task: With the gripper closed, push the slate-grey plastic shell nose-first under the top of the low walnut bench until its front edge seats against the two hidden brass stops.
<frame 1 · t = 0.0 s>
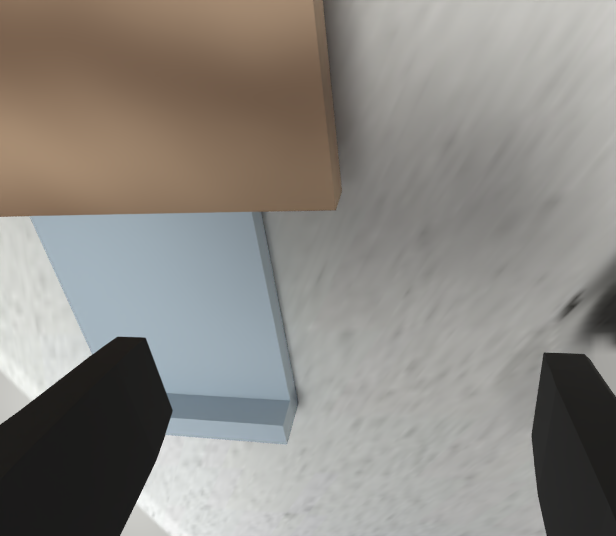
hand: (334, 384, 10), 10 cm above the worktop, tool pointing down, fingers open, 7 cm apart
shell: (182, 305, 24), on the worktop
bench: (93, 40, 18), on the worktop
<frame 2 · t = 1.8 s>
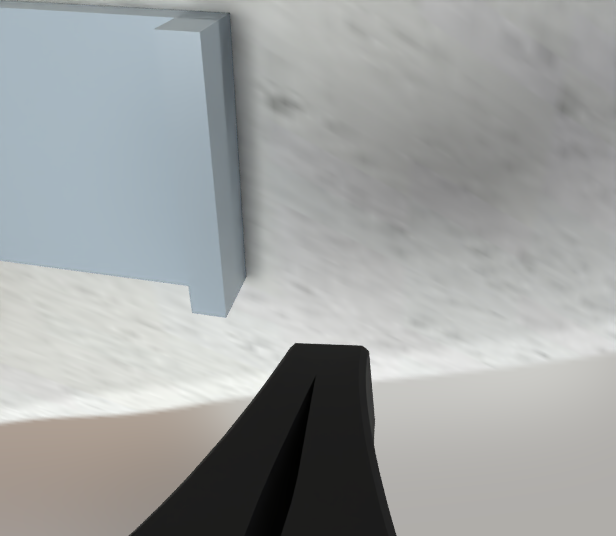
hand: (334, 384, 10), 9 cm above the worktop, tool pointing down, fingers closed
shell: (85, 145, 19), on the worktop
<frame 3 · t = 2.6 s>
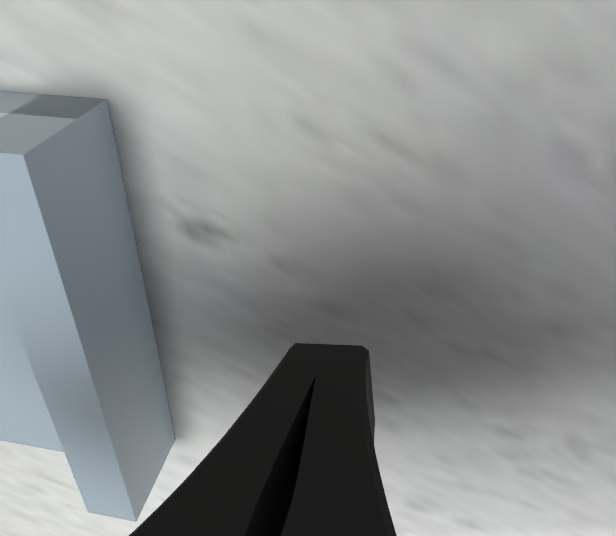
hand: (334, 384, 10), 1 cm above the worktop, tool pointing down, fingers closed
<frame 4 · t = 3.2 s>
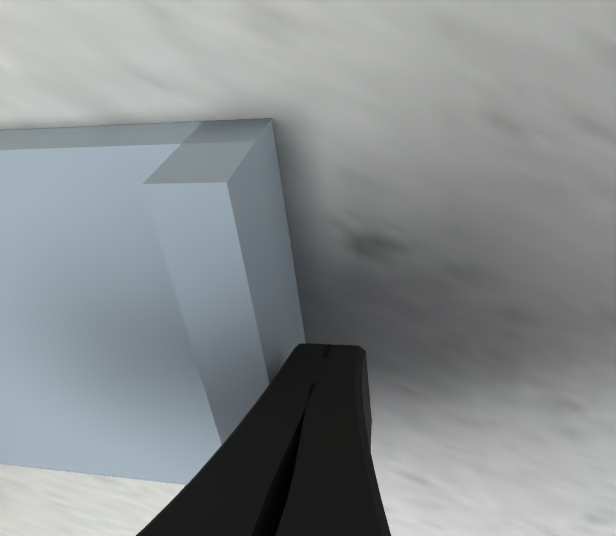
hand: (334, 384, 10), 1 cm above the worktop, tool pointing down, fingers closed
shell: (76, 312, 13), on the worktop, touching gripper
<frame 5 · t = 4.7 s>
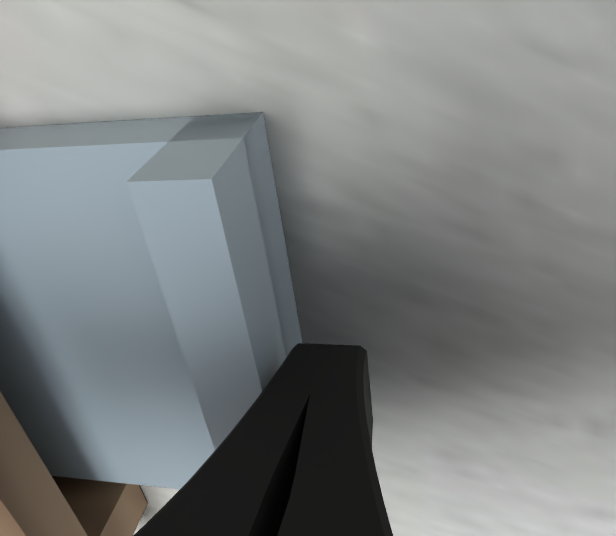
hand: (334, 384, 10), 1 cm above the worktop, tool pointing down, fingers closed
shell: (68, 315, 13), on the worktop
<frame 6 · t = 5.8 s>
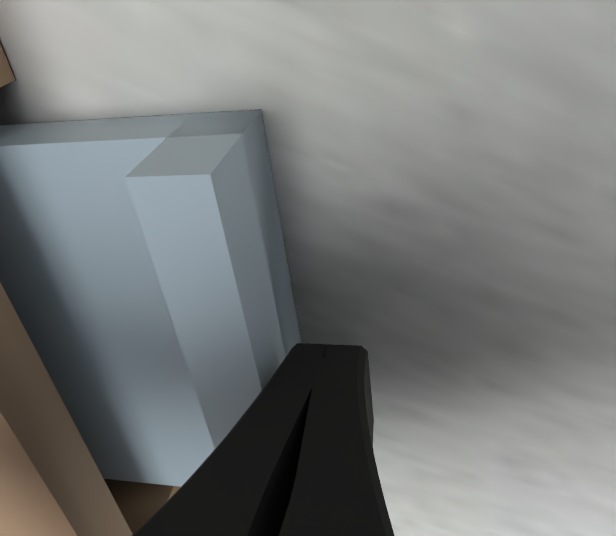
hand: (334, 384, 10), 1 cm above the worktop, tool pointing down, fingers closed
shell: (68, 313, 13), on the worktop
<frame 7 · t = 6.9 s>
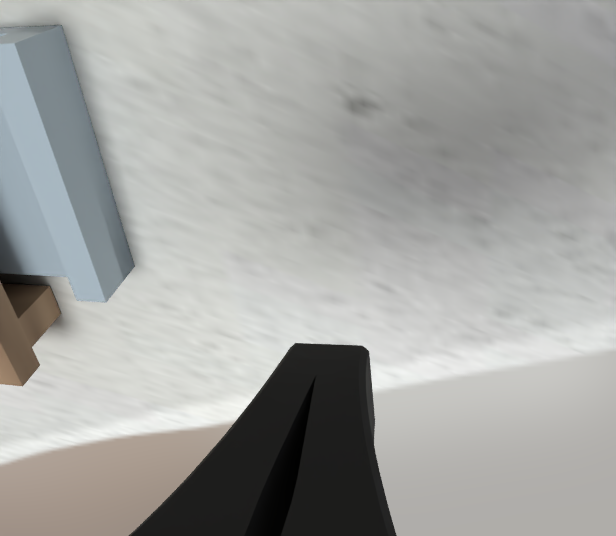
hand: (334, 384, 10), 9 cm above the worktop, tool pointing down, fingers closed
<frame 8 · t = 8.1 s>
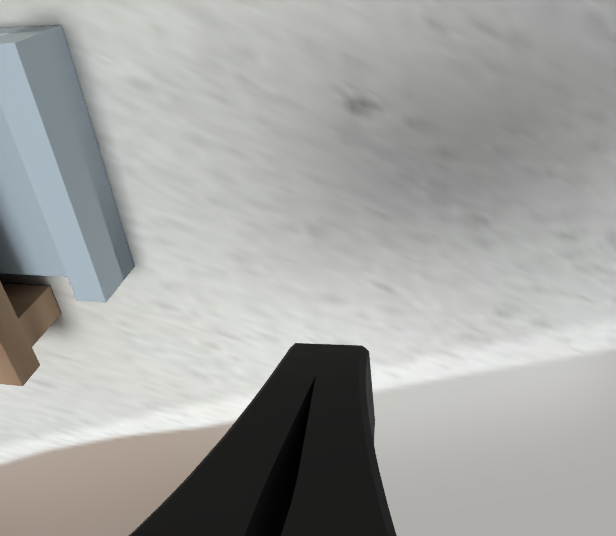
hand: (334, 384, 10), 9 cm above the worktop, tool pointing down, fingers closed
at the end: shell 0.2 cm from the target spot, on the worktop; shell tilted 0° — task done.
